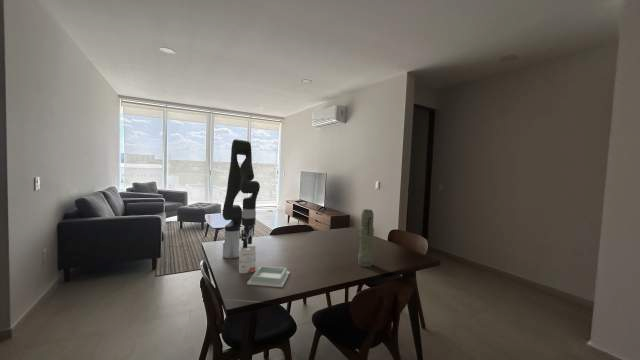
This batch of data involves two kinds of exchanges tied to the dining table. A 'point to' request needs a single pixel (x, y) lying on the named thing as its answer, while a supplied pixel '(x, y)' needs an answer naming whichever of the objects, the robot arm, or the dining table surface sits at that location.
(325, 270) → the dining table surface
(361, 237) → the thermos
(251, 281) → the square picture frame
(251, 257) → the ink cartridge box
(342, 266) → the dining table surface
